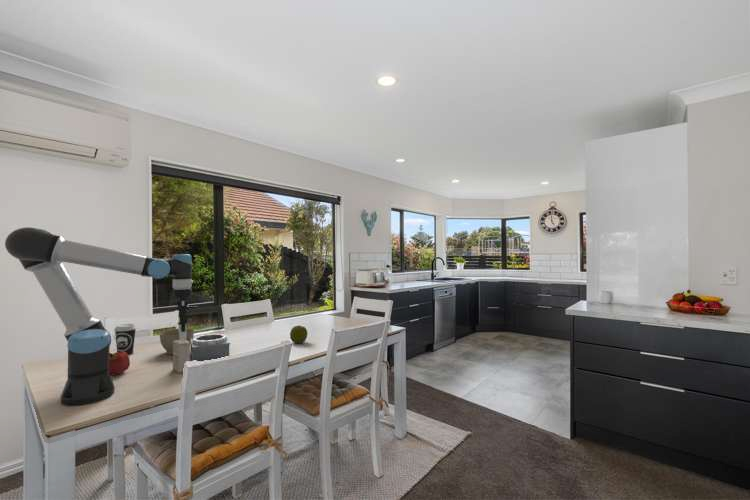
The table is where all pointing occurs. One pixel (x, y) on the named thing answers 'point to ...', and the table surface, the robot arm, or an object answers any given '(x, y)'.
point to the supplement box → (180, 354)
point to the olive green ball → (298, 334)
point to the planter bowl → (173, 338)
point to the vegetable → (118, 363)
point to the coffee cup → (125, 337)
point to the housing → (209, 347)
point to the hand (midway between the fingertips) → (182, 335)
